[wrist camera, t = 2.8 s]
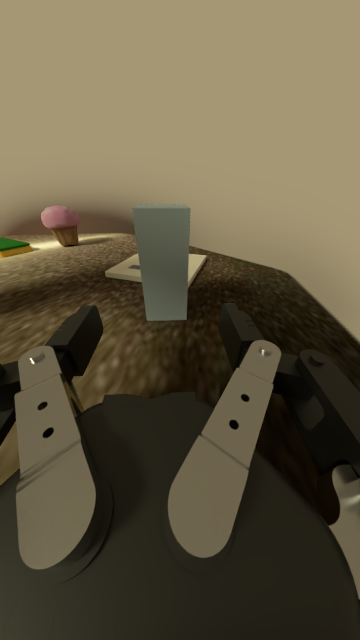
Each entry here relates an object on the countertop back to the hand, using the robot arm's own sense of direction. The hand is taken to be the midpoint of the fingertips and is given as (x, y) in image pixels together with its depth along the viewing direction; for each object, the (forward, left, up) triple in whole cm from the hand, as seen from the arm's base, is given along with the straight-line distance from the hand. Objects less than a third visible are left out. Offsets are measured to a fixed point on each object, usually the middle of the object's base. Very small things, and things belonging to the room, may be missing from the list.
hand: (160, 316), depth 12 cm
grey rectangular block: (-4, +10, -7) cm, 13 cm away
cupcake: (-44, +34, -7) cm, 56 cm away
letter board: (-11, +25, -7) cm, 28 cm away
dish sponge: (-56, +24, -7) cm, 61 cm away
